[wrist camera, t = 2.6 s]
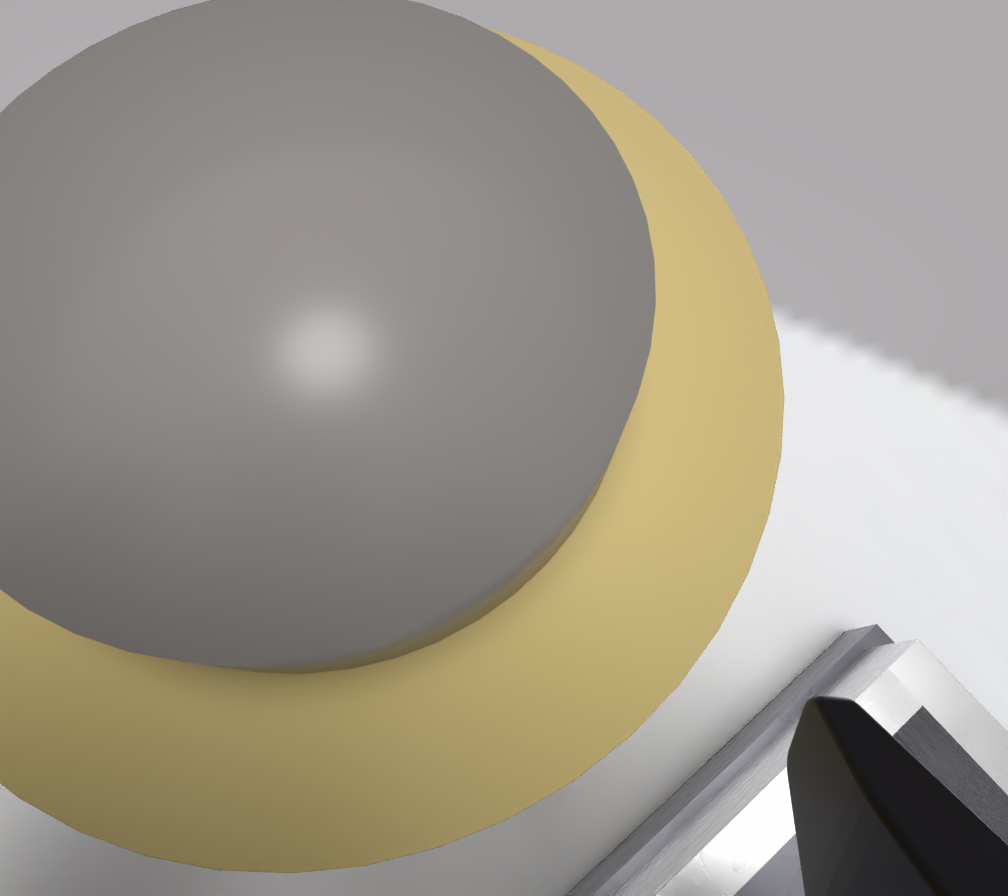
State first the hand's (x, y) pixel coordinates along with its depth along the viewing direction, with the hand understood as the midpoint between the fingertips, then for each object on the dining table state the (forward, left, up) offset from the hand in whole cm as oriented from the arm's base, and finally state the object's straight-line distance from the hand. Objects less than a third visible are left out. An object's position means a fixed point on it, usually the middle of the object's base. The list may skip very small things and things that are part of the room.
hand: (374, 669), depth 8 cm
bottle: (+1, +1, -9) cm, 9 cm away
